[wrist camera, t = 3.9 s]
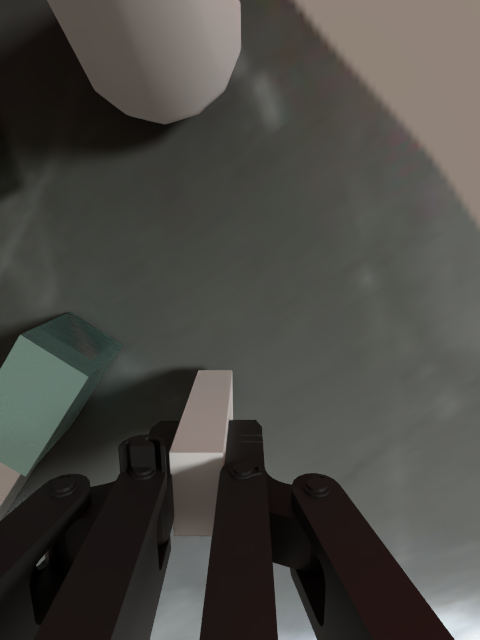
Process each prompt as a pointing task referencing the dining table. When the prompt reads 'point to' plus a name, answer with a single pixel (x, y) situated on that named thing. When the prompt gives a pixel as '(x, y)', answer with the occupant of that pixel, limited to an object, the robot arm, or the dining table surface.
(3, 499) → the tongs jaw
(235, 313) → the dining table surface
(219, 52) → the salt shaker
